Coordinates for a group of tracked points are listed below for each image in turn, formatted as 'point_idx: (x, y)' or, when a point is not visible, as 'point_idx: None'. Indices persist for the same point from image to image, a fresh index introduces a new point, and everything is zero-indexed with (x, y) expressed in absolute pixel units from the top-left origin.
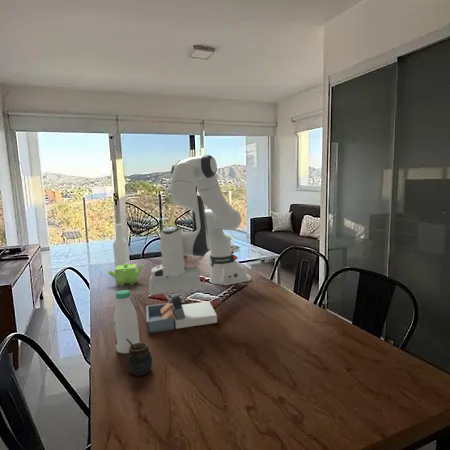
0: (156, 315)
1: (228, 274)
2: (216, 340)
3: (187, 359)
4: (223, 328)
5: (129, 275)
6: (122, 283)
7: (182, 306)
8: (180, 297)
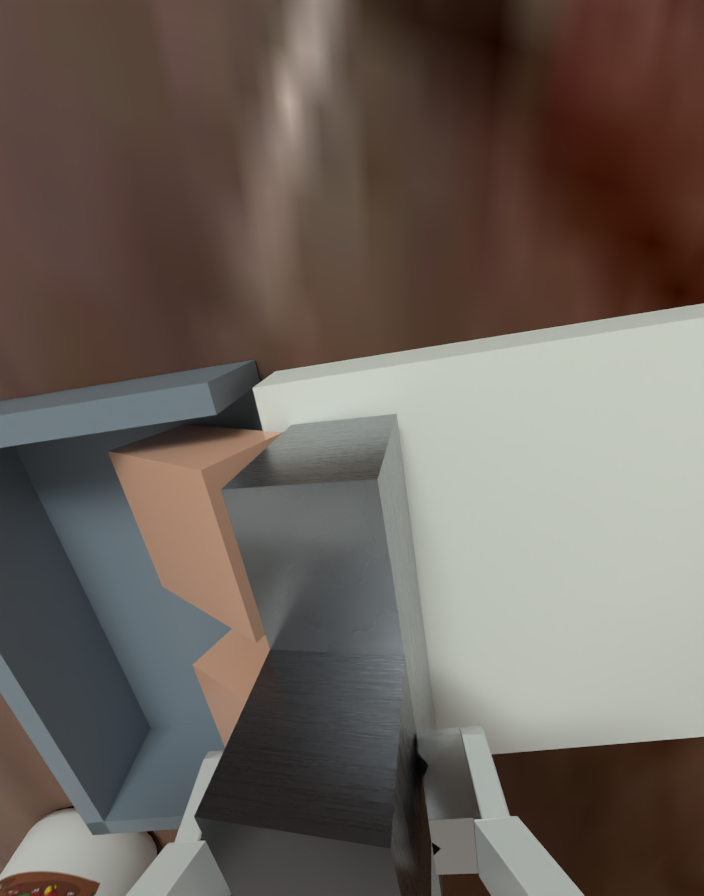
0: (107, 466)
1: None
2: (597, 848)
3: None
4: (696, 747)
5: None
6: None
7: (415, 433)
8: (438, 851)
